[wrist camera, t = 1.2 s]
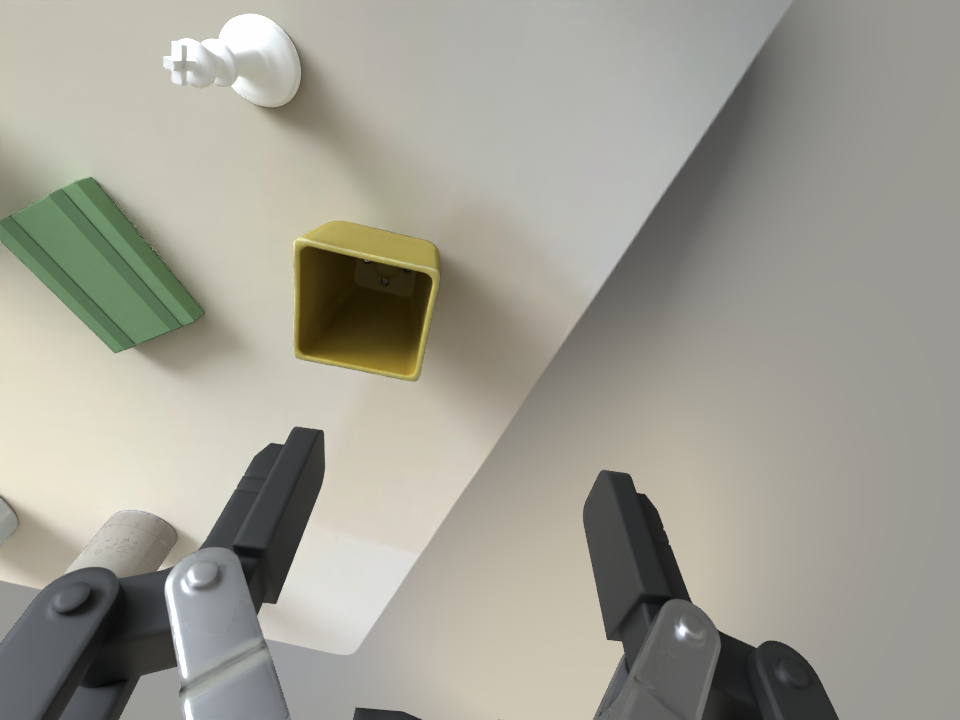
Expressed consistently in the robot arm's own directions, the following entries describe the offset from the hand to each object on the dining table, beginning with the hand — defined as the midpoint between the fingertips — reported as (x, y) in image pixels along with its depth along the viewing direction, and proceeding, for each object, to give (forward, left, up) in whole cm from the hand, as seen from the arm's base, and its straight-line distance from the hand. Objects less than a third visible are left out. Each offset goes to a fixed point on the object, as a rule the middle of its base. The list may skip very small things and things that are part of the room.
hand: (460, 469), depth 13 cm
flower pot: (+1, -8, -25) cm, 27 cm away
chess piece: (-14, -9, -25) cm, 30 cm away
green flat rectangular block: (-7, -30, -25) cm, 40 cm away
